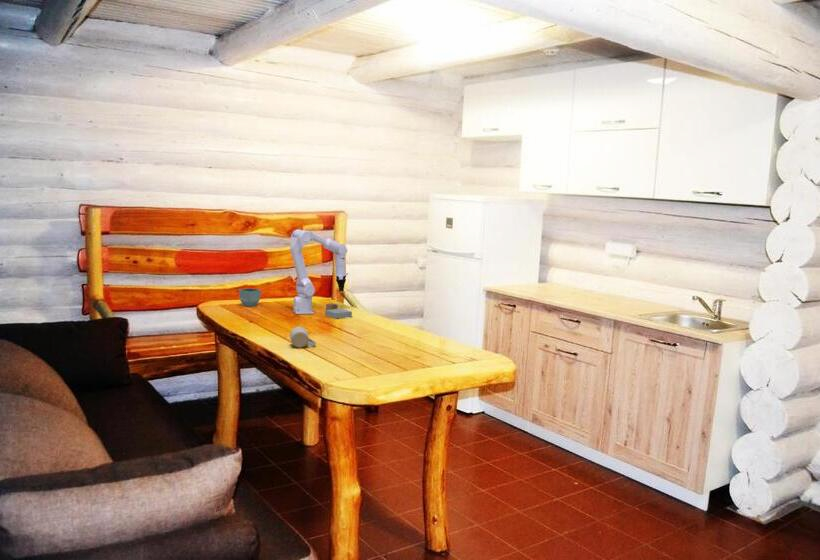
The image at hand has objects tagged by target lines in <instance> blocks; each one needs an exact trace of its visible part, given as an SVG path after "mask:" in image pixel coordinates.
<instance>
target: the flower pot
mask: <svg viewBox="0 0 820 560" xmlns="http://www.w3.org/2000/svg"><path fill="white" fill-rule="evenodd" d="M238 293H239V299H240V302H241V304H242V305H243V306H244V307H249V308H251V307H256V306H257V305H258V303H260V300H261V295H262V294H261V293H262V290H261V289H257V288H251V287H250V288H249V287H248V288H243V289H242V288H241V289H238Z"/></svg>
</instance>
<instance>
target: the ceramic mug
mask: <svg viewBox="0 0 820 560" xmlns="http://www.w3.org/2000/svg"><path fill="white" fill-rule="evenodd" d="M289 339H290V341H291V344H292V345H293V346H294V347H296V348H299V349H301V348H304V347H306V346H310V347H312V348H313V347H315V346H316V344H317V343H316V341H315V340H313V339H312V338H309V333H308V330H306V328H304V327H302V326H296V327H294V328H292V329H291V331H290V333H289Z"/></svg>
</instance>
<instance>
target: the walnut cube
mask: <svg viewBox="0 0 820 560" xmlns="http://www.w3.org/2000/svg"><path fill="white" fill-rule="evenodd" d="M338 306H339V304H337V303H326V304H325V310H331V309H339V307H338Z"/></svg>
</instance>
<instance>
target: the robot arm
mask: <svg viewBox="0 0 820 560" xmlns="http://www.w3.org/2000/svg"><path fill="white" fill-rule="evenodd" d="M290 238H291V240H290V245H289V246H290V247H289V249H290V253H291V257H292V261H293V266H294V270H295V273H296V278H297V280H296V282H295V284H296V286H295V290H296V292H297V296H294V297H293V310H292V311H293V313H295V315H305V314H308V315H309V314H311V315H313V314H315V312H314V311H313V296H314V294H315V293H316V287H314V284H313V283H312V281H311V280H310V278H309V276H308V271H307V268H306V263H305V260H304V256H303V255H304V254H303V251H302V249H303V248H304V246H305V245H307V244H308V243H309V242H310V241H311V242H312V241H313V242H316V243H318V244H320V245H322V247H323V248H324V249H326V250H328V251H330V252H332V253H333V254H334V264H335V266H334V267H335V270H334V271H335V273H334V276H335V282H336V283H337V287H338V290H339V293H340V292H342V293H343V292H344V290H345V283H346V281H347V276H348V275H349V272H347V267H346V265H347V264H346V263H347V262H346V257H347V252H348V248H347V246H346V245H345V244H343V243H340V241H335V240H334V239H333V238H332V237H328V238H324V237H322V236H320V235H318V233H317V234H316V233H315V232H312V231H309V230H303V229H297V228H296V229H294V230H293V231H292V234H291V235H290Z"/></svg>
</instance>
